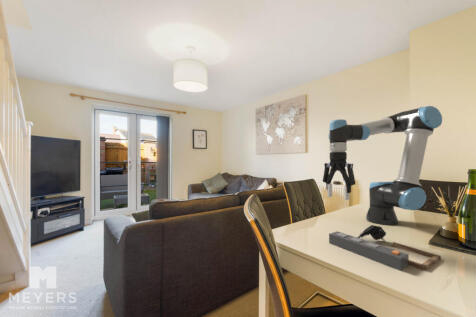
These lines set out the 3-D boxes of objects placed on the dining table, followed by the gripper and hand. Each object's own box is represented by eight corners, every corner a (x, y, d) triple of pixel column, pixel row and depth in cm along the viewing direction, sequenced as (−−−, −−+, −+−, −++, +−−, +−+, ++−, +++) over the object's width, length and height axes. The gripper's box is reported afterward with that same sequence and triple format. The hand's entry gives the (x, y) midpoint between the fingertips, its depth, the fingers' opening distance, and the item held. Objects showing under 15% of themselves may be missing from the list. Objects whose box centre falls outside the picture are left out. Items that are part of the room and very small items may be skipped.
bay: (394, 245, 86) (394, 242, 86) (440, 260, 74) (440, 255, 74) (376, 253, 79) (376, 249, 79) (424, 271, 67) (424, 266, 67)
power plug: (352, 235, 95) (374, 220, 93) (363, 249, 94) (386, 234, 92) (356, 240, 90) (380, 224, 88) (368, 255, 89) (393, 239, 87)
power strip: (337, 240, 92) (337, 230, 92) (408, 266, 70) (408, 252, 70) (329, 242, 89) (329, 232, 89) (400, 270, 67) (400, 256, 67)
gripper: (314, 152, 108) (315, 195, 108) (355, 150, 90) (355, 202, 90) (324, 152, 112) (324, 194, 112) (364, 151, 94) (364, 201, 94)
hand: (338, 198), depth 101 cm, fingers open, 8 cm apart
